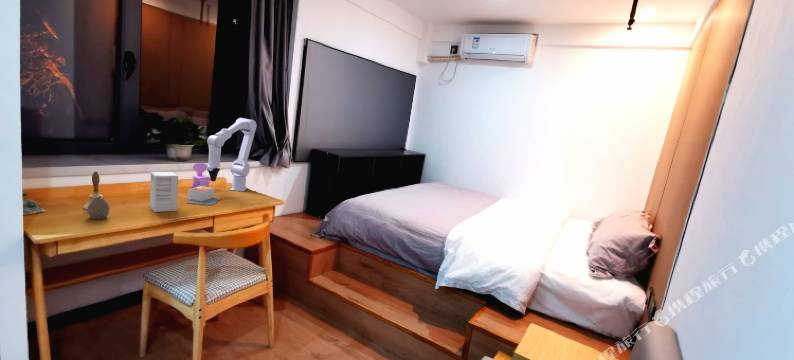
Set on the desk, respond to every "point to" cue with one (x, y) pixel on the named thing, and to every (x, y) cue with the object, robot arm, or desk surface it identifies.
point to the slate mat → (204, 202)
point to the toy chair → (200, 176)
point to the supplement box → (163, 191)
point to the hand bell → (95, 183)
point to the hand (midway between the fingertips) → (213, 181)
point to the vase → (98, 208)
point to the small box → (200, 193)
